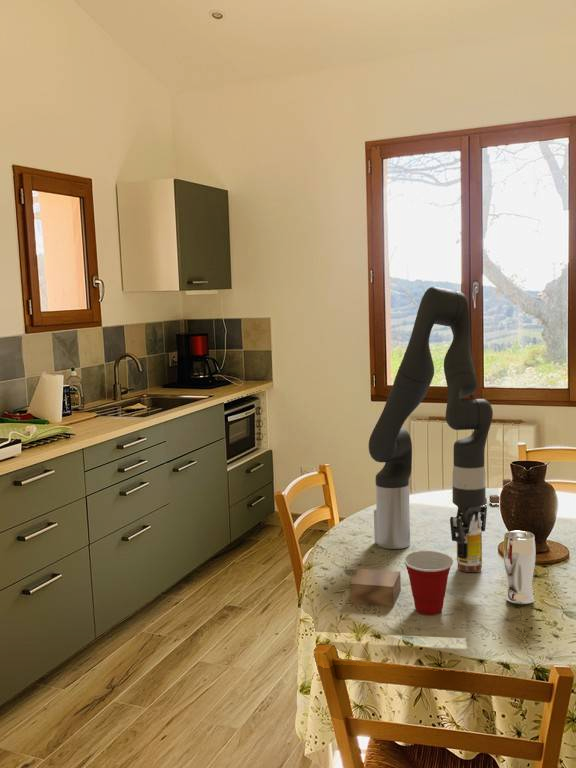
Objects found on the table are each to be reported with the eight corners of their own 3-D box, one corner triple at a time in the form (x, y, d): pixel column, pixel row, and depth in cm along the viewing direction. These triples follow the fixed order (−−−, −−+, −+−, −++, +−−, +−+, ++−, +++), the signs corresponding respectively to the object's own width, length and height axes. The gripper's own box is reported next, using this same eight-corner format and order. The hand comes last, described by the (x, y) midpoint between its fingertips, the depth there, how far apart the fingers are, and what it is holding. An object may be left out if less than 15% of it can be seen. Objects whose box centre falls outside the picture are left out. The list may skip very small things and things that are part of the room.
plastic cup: (411, 622, 161) (410, 568, 160) (399, 603, 171) (397, 552, 170) (460, 618, 162) (459, 564, 161) (445, 599, 172) (444, 548, 171)
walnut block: (350, 604, 173) (349, 583, 172) (359, 588, 182) (359, 568, 182) (393, 608, 169) (393, 586, 169) (400, 591, 179) (400, 571, 178)
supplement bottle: (485, 565, 175) (485, 522, 174) (463, 567, 174) (462, 524, 173) (474, 557, 180) (474, 516, 179) (452, 559, 179) (452, 518, 178)
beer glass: (531, 607, 166) (531, 541, 165) (500, 601, 170) (499, 537, 168) (539, 596, 172) (538, 532, 171) (508, 591, 176) (508, 528, 174)
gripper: (468, 493, 167) (468, 566, 169) (497, 480, 178) (497, 549, 180) (439, 488, 172) (439, 559, 174) (469, 476, 183) (469, 543, 185)
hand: (468, 554), depth 177 cm, fingers closed on supplement bottle, 5 cm apart
